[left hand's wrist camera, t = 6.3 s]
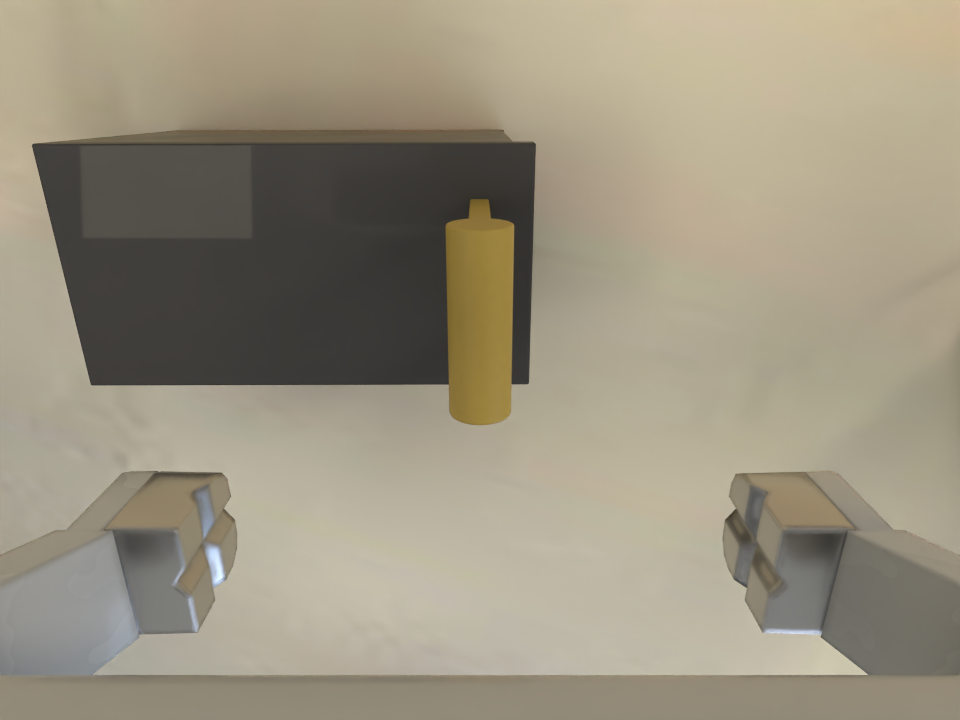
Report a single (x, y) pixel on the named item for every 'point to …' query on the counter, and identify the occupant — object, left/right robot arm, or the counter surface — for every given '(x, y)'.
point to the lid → (300, 263)
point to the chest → (309, 136)
